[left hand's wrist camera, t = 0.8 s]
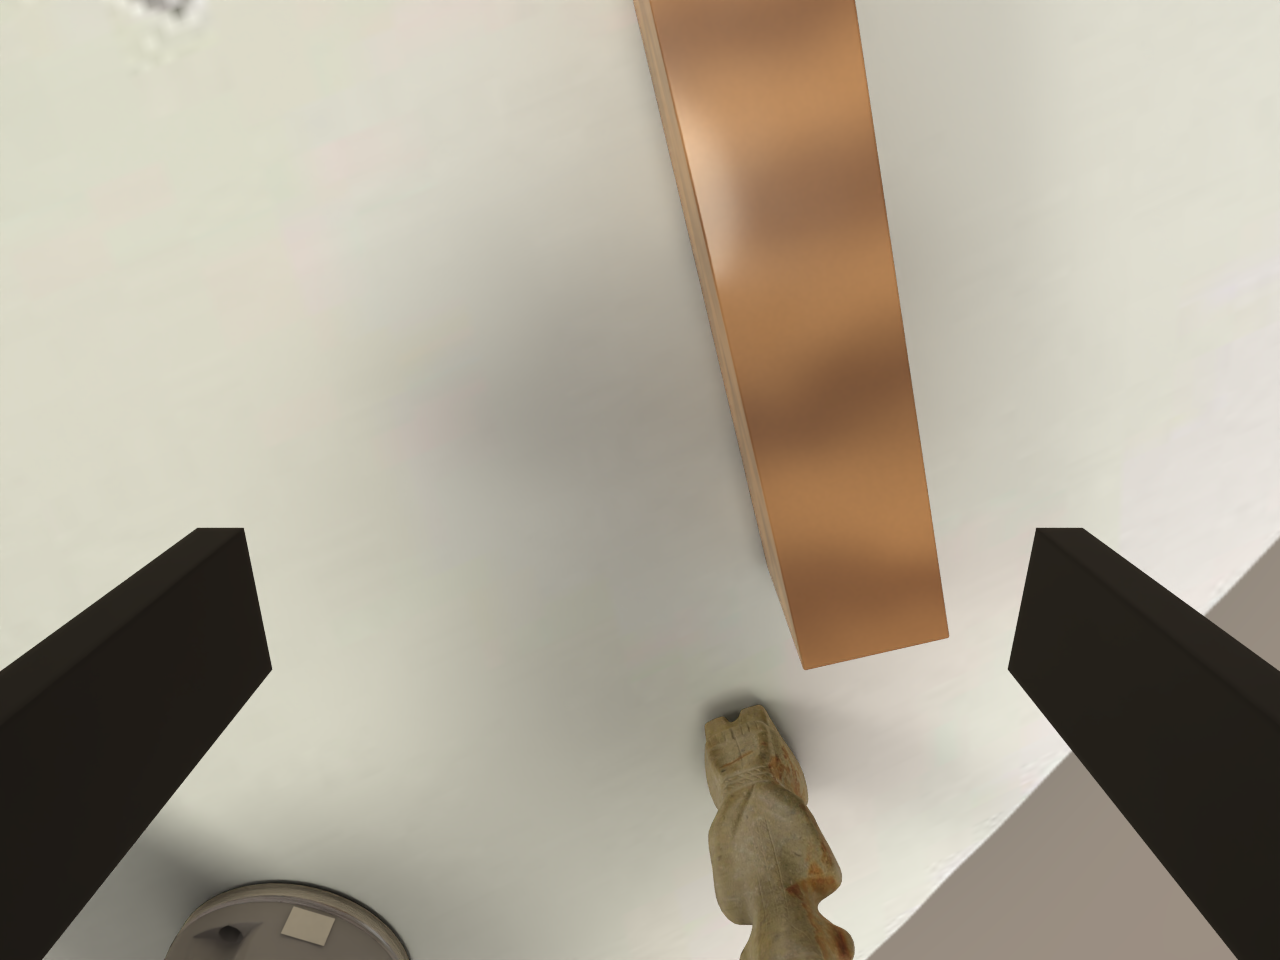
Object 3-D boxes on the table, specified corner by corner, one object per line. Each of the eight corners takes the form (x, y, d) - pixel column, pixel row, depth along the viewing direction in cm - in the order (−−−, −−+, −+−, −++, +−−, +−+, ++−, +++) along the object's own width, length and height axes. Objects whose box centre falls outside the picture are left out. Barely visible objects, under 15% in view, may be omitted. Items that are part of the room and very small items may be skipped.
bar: (880, 540, 38) (950, 638, 30) (767, 567, 39) (803, 671, 30) (741, -248, 27) (787, -459, 19) (586, -195, 28) (562, -376, 19)
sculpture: (719, 805, 44) (757, 1088, 30) (680, 710, 42) (700, 968, 27) (815, 778, 43) (899, 1055, 29) (780, 679, 41) (854, 929, 27)
